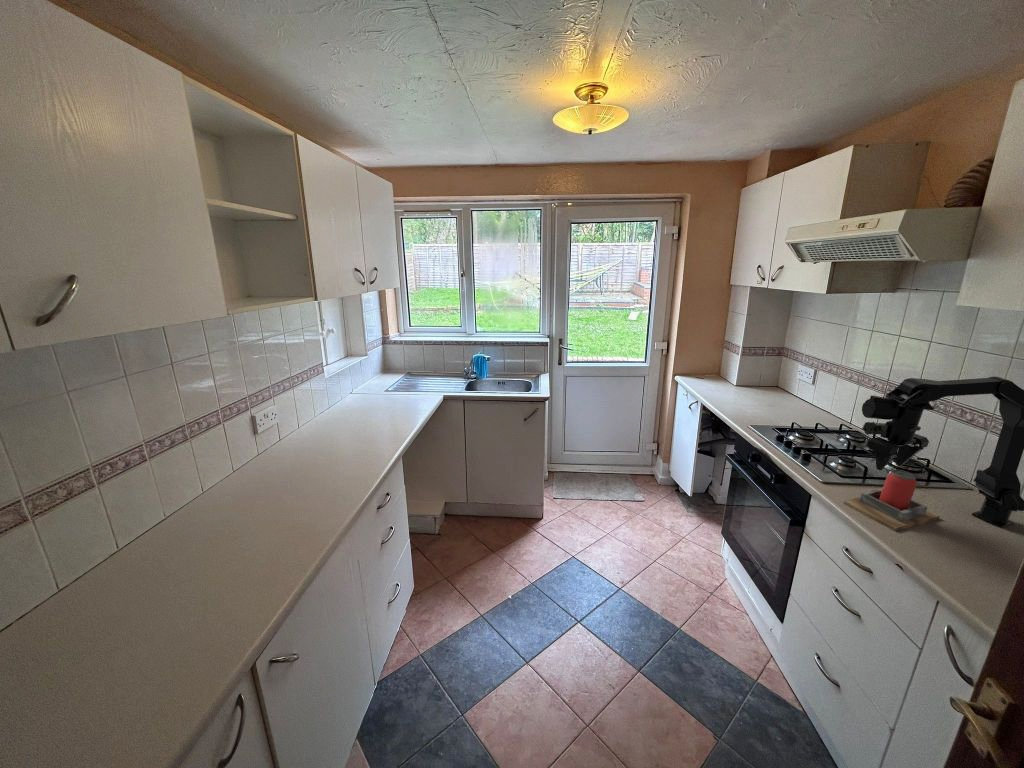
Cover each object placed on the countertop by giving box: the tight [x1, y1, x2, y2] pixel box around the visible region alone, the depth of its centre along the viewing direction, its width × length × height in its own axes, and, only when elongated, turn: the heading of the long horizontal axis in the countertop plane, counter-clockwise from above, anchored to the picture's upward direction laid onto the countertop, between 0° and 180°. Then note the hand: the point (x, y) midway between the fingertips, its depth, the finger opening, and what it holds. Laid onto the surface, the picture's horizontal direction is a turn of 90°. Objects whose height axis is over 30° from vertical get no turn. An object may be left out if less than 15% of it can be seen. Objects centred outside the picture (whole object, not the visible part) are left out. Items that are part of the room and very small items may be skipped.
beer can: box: [879, 469, 917, 511], centre depth 121 cm, size 7×7×12 cm
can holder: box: [843, 487, 941, 532], centre depth 122 cm, size 20×14×4 cm
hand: (888, 467), depth 122 cm, fingers open, 9 cm apart
